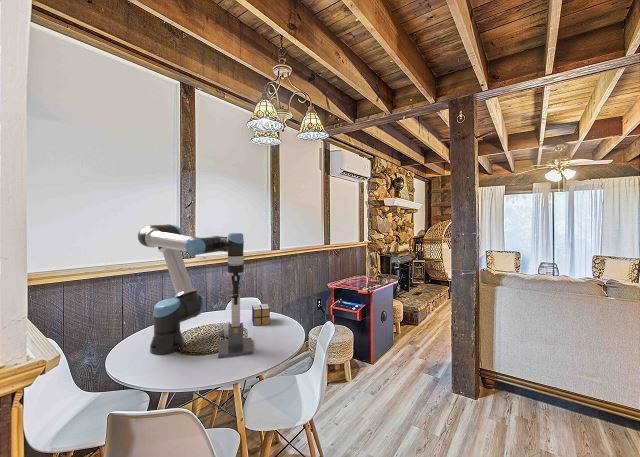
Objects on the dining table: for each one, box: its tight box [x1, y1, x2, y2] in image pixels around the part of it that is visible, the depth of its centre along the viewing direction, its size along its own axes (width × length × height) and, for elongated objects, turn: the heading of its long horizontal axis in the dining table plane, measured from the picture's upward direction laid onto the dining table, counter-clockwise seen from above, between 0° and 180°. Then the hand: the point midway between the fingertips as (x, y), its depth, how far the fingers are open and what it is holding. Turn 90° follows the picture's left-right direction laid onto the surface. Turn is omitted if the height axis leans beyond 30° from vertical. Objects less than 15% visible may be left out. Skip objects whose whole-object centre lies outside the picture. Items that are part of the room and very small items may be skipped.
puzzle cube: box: [251, 303, 271, 327], centre depth 179 cm, size 10×10×10 cm
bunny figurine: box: [216, 321, 231, 339], centre depth 162 cm, size 10×5×15 cm
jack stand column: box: [226, 287, 245, 328], centre depth 143 cm, size 8×4×22 cm, turn 106°
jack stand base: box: [217, 322, 254, 359], centre depth 143 cm, size 16×16×12 cm
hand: (235, 306), depth 143 cm, fingers open, 13 cm apart
